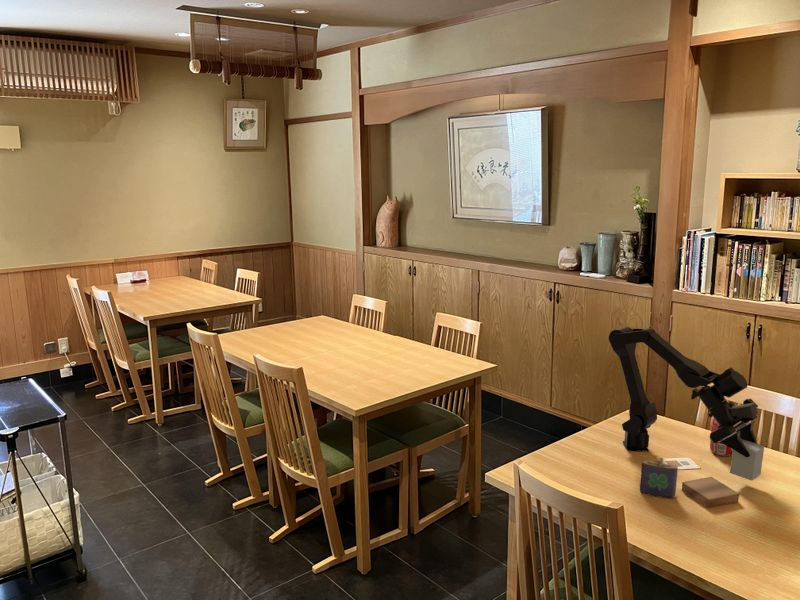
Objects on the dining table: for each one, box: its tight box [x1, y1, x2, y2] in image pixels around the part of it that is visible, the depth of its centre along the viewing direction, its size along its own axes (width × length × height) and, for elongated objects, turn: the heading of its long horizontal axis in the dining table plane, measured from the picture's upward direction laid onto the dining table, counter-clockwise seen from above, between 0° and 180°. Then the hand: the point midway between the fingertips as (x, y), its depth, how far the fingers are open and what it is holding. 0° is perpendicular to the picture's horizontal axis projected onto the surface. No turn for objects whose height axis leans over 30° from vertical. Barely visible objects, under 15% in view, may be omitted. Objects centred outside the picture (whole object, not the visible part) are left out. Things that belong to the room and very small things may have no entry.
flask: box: [639, 457, 678, 499], centre depth 179 cm, size 9×3×11 cm, turn 68°
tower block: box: [729, 438, 765, 481], centre depth 183 cm, size 6×6×8 cm
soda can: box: [709, 418, 737, 457], centre depth 204 cm, size 7×7×12 cm
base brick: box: [681, 476, 740, 509], centre depth 178 cm, size 10×10×3 cm
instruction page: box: [657, 457, 701, 470], centre depth 197 cm, size 10×7×1 cm
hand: (753, 453), depth 181 cm, fingers closed on tower block, 6 cm apart
